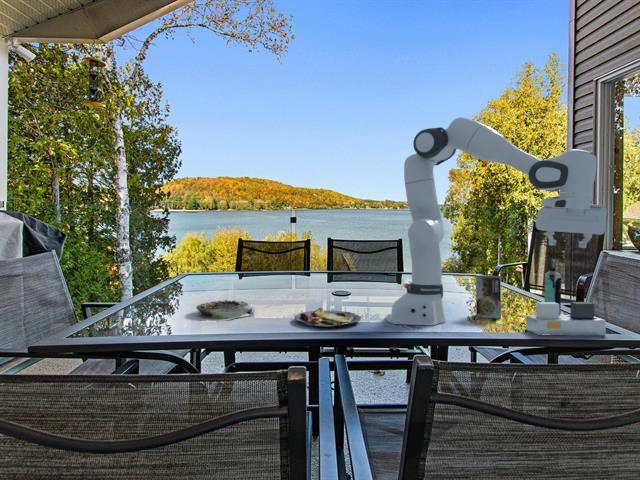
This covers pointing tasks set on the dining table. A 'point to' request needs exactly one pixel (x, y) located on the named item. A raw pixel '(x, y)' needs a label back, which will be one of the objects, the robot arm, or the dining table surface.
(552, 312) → the panel
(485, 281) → the coffee box
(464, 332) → the dining table surface
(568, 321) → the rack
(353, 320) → the food plate
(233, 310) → the grey round shallow dish
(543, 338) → the dining table surface
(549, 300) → the spray can
